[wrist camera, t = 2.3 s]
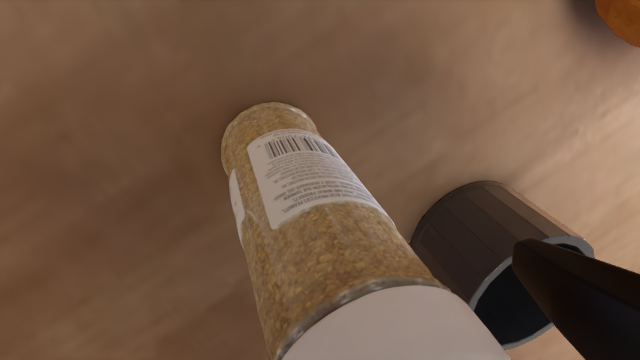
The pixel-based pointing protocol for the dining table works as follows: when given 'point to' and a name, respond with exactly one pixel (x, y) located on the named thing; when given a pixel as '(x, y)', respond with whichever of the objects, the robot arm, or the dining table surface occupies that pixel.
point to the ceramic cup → (490, 255)
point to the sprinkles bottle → (333, 254)
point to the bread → (621, 18)
